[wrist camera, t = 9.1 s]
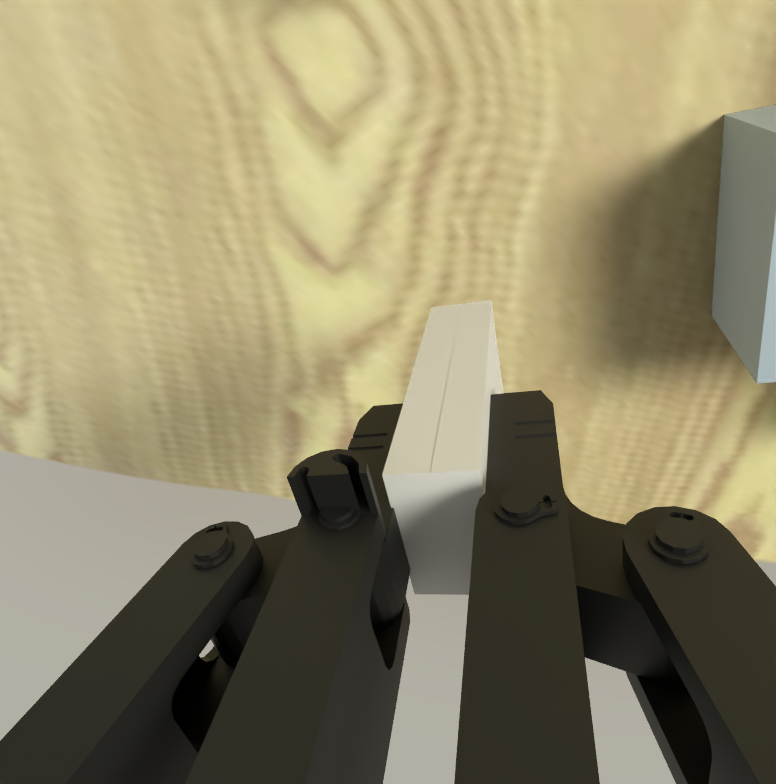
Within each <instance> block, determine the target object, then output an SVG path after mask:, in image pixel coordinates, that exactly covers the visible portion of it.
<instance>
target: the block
mask: <svg viewBox="0 0 776 784" xmlns="http://www.w3.org/2000/svg"><path fill="white" fill-rule="evenodd" d="M712 317H713V318H714V320H715V321H716V323H717V324H718V326H719V327H720V329H721V330H722V332H723V333H724V335H725V337H726V338H727V340H728V341H729V343H730V344H731V346H732V347H733V349H734V350H735V352H736V353H737V355H738V356H739V358H740V359H741V361H742V362H743V364H744V365H745V367H746V368H747V370H748V371H749V373H750V374H751V376H752V377H753V379H754V380H755V382H756V383H770V382H776V104H775V105H770V106H765V107H760V108H755V109H750V110H745V111H740V112H735V113H730V114H725V115H724V129H723V144H722V160H721V175H720V191H719V206H718V222H717V238H716V253H715V269H714V284H713V300H712Z"/></svg>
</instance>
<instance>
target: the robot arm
mask: <svg viewBox="0 0 776 784" xmlns="http://www.w3.org/2000/svg"><path fill="white" fill-rule="evenodd" d="M287 479H288V481H289V484H290V487H291V489H292V492H293V495H294V497H295V500H296V502H297V505H298V508H299V510H300V513H301V515H302V517H301V519H300V521H299V523H298V526H296V527H294V528H291V529H288V530H285V531H282V532H278V533H275V534H271V535H267V536H263V537H260V538H256V539H255V538H254V536H253V534H252V532H251V530H250V529H249V527H248V526H247V525H244V524H242V523H240V522H222V523H218V524H214V525H210V526H208V527H206V528H204V529H203V530H201V531H199V532H197V533H195V534H194V535H193V536H192V537H190V538H189V539H188V540H187V541H186V542H185V543H183V544H182V545H181V547H180V548H179V549H178V550H177V551H176V552H175V553H174V554H173V555H172V556H171V558H169V560H168V561H167V562H166V563H165V564H164V565H163V566H162V567H161V568H160V569H159V570H158V571H157V572H156V574H155V575H154V576H153V577H152V578H151V579H150V580H149V581H148V582H147V583H146V584H145V585H144V586H143V588H142V589H141V590H140V591H139V592H138V593H137V594H136V595H135V596H134V597H133V598H132V599H131V601H130V602H129V603H128V604H127V605H126V606H125V607H124V608H123V609H122V610H121V611H120V612H119V614H118V615H117V616H116V617H115V618H114V619H113V620H112V621H111V622H110V623H109V624H108V625H107V626H106V627H105V629H104V630H103V631H102V632H101V633H100V634H99V635H98V636H97V637H96V638H95V639H94V640H93V642H92V643H91V644H90V645H89V646H88V647H87V648H86V649H85V650H84V651H83V652H82V653H81V655H80V656H79V657H78V658H77V659H76V660H75V661H74V662H73V663H72V664H71V665H70V666H69V667H68V669H67V670H66V671H65V672H64V673H63V674H62V675H61V676H60V677H59V678H58V679H57V680H56V682H55V683H54V684H53V685H52V686H51V687H50V688H49V689H48V690H47V691H46V692H45V693H44V694H43V696H42V697H41V698H40V699H39V700H38V701H37V702H36V703H35V704H34V705H33V706H32V707H31V708H30V710H29V711H28V712H27V713H26V714H25V715H24V716H23V717H22V718H21V719H20V720H19V721H18V722H17V724H16V725H15V726H14V727H13V728H12V729H11V730H10V731H9V732H8V733H7V734H6V735H5V736H4V738H3V739H2V740H1V741H0V784H383V779H384V773H385V767H386V761H387V755H388V749H389V743H390V737H391V731H392V725H393V720H394V713H395V708H396V701H397V695H398V690H399V684H400V678H401V672H402V666H403V660H404V654H405V648H406V642H407V636H408V631H409V624H410V613H409V607H408V603H407V600H406V597H405V596H406V590H407V584H408V579H409V575H410V578H411V582H412V586H413V589H414V593H415V594H463V595H464V594H465V595H466V594H467V595H468V594H469V601H468V613H467V627H466V641H465V653H464V666H463V679H462V692H461V705H460V718H459V731H458V745H457V758H456V770H455V784H600V783H599V774H598V766H597V758H596V750H595V741H594V733H593V724H592V716H591V707H590V699H589V690H588V682H587V674H586V665H585V657H586V658H589V659H592V660H595V661H598V662H600V663H603V664H606V665H609V666H612V667H615V668H618V669H621V670H624V671H626V674H627V676H628V679H629V681H630V683H631V685H632V687H633V690H634V692H635V694H636V696H637V698H638V701H639V703H640V705H641V707H642V709H643V712H644V714H645V716H646V718H647V721H648V723H649V725H650V727H651V729H652V731H653V734H654V736H655V738H656V740H657V742H658V745H659V747H660V749H661V751H662V753H663V756H664V758H665V760H666V762H667V764H668V767H669V769H670V771H671V773H672V775H673V778H674V780H675V782H676V784H776V586H775V585H774V584H773V583H772V581H771V580H770V579H769V578H768V577H767V575H766V574H765V573H764V572H763V571H762V569H761V568H760V567H759V566H758V564H757V563H756V562H755V561H754V560H753V558H752V557H751V556H750V555H749V554H748V552H747V551H746V550H745V549H744V548H743V546H742V545H741V544H740V543H739V541H738V540H737V539H736V538H735V537H734V535H733V534H732V533H731V532H730V531H729V530H728V529H727V528H725V527H724V526H723V525H722V524H721V523H719V522H718V521H717V520H716V519H714V518H712V517H710V516H707V515H705V514H703V513H701V512H699V511H696V510H692V509H686V508H681V507H676V506H671V507H654V508H651V509H649V510H646V511H643V512H640V513H637V514H636V515H635V516H634V517H633V518H632V519H631V520H630V521H629V522H628V523H626V525H624V524H619V523H615V522H610V521H606V520H602V519H599V518H596V517H593V516H591V515H589V514H587V513H585V512H583V511H581V510H580V509H578V508H577V507H576V506H575V505H573V504H572V503H571V502H570V500H569V499H568V497H567V496H566V495H565V491H564V488H563V483H562V475H561V467H560V458H559V450H558V442H557V434H556V425H555V417H554V408H553V403H552V402H551V401H550V400H549V399H548V398H547V397H546V396H545V395H544V394H543V392H542V391H541V390H538V391H527V392H515V393H503V386H502V379H501V371H500V363H499V355H498V347H497V340H496V332H495V324H494V316H493V308H492V300H485V301H477V302H469V303H462V304H454V305H446V306H438V307H431V311H430V314H429V318H428V321H427V324H426V328H425V331H424V335H423V338H422V341H421V345H420V348H419V352H418V355H417V358H416V362H415V365H414V369H413V372H412V375H411V379H410V382H409V386H408V389H407V392H406V396H405V399H404V403H403V404H392V405H380V406H373V407H372V408H371V409H370V410H369V411H368V412H367V413H366V414H365V415H364V416H363V417H362V418H361V419H360V420H359V422H358V424H357V427H356V429H355V432H354V434H353V438H352V439H351V442H350V444H349V447H348V450H343V449H335V450H329V451H324V452H320V453H318V454H315V455H313V456H311V457H308V458H306V459H305V460H304V461H302V462H301V463H299V464H298V465H297V466H295V467H294V468H293V470H292V471H291V472H290V474H289V475H288V476H287ZM210 640H212V642H213V644H214V647H213V649H212V650H211V651H210V652H209V653H208V654H207V655H206V656H205V657H202V658H200V657H199V654H200V653H201V651H202V650H203V649H204V647H205V646H206V645H207V643H208V642H209V641H210Z"/></svg>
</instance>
